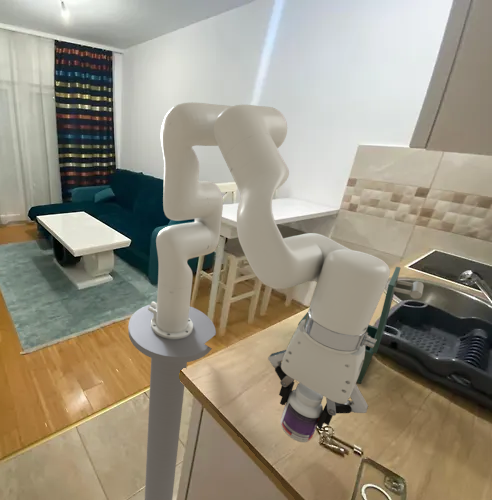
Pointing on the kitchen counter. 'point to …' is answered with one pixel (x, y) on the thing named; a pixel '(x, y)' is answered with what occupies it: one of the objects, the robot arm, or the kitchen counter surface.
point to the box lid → (415, 293)
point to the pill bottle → (301, 413)
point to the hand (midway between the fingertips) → (302, 410)
